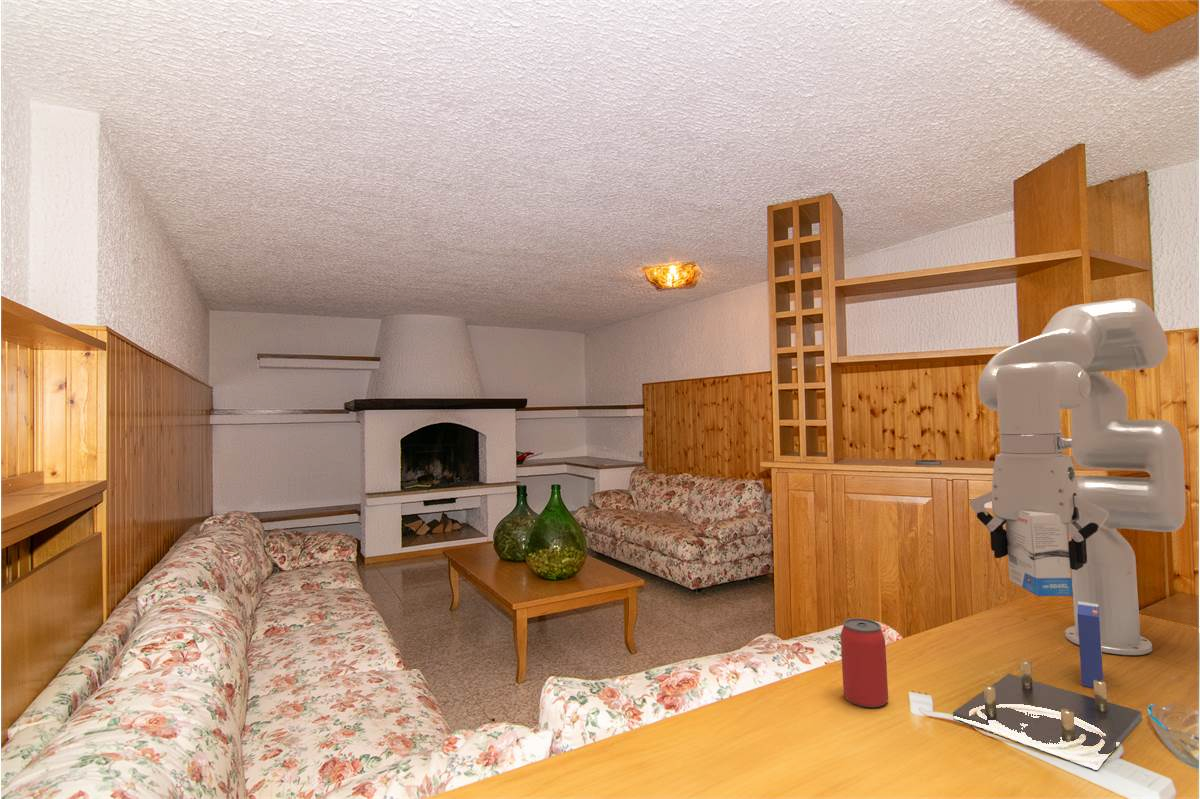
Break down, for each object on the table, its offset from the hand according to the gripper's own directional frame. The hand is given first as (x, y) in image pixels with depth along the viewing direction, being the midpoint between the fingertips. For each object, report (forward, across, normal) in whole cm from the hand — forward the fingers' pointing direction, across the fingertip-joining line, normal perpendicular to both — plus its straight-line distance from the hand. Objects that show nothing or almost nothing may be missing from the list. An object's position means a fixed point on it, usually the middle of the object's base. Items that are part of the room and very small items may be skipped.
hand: (1037, 561), depth 89 cm
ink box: (+4, 0, 0) cm, 4 cm away
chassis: (+23, 0, 0) cm, 23 cm away
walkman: (+23, 0, -20) cm, 31 cm away
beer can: (+23, +20, +14) cm, 34 cm away
